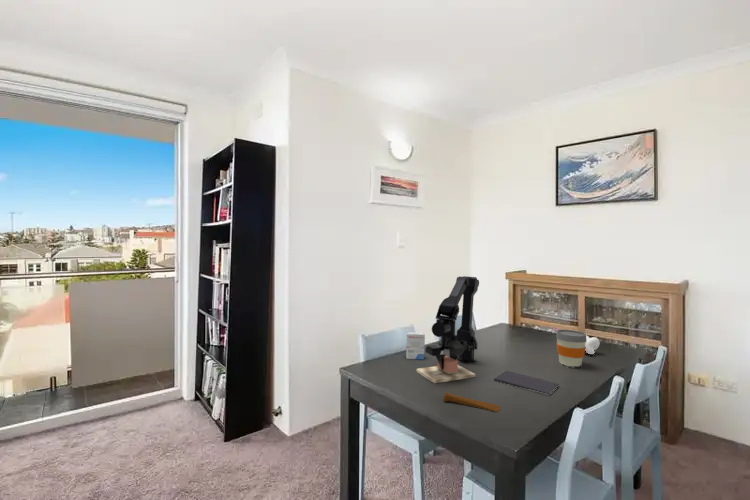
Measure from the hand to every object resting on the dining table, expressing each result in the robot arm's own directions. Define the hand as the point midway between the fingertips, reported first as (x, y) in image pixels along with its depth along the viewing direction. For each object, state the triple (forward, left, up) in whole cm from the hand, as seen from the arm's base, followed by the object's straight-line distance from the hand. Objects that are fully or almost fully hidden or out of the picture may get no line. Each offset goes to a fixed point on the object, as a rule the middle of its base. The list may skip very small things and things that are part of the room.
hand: (447, 368), depth 158 cm
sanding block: (0, 0, -1) cm, 1 cm away
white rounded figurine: (-86, 0, -3) cm, 86 cm away
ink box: (+2, -24, -3) cm, 24 cm away
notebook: (-24, +20, -3) cm, 31 cm away
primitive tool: (+8, +28, -3) cm, 29 cm away
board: (+1, 0, -2) cm, 2 cm away
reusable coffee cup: (-61, +10, -3) cm, 62 cm away
